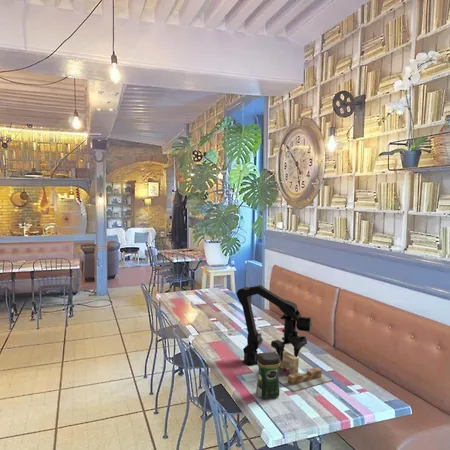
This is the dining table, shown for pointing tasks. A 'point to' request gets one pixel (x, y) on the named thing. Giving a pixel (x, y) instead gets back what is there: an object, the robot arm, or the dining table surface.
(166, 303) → the dining table surface
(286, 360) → the birch plate
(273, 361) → the coffee jar
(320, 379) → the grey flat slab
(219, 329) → the dining table surface
